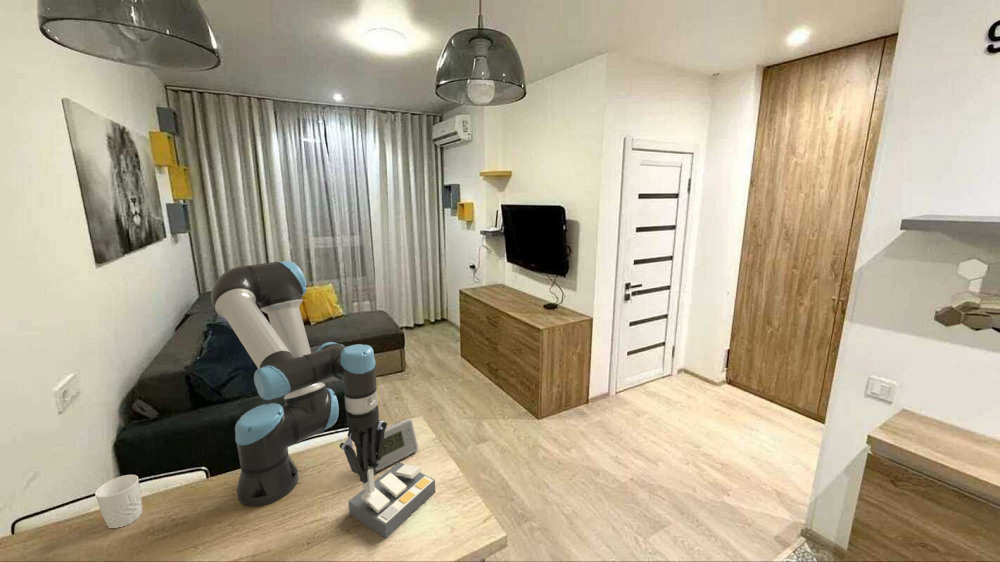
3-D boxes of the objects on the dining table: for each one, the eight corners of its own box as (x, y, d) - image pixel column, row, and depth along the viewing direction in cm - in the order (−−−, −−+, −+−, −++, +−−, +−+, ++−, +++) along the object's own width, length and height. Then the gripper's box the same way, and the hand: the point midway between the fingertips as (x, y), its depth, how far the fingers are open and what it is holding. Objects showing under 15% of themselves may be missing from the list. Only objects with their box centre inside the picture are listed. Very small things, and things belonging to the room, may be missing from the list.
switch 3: (396, 477, 110) (395, 471, 110) (406, 469, 113) (405, 464, 113) (412, 480, 106) (411, 475, 106) (422, 472, 110) (420, 467, 109)
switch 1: (360, 499, 100) (361, 494, 99) (372, 490, 103) (373, 485, 102) (377, 514, 97) (378, 510, 96) (389, 504, 100) (389, 500, 100)
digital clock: (371, 476, 116) (369, 444, 114) (364, 459, 124) (361, 429, 121) (422, 456, 125) (421, 427, 122) (412, 442, 132) (411, 414, 130)
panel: (349, 514, 102) (348, 499, 101) (400, 473, 117) (399, 460, 116) (386, 538, 95) (385, 522, 94) (435, 492, 110) (434, 478, 109)
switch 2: (379, 485, 105) (379, 480, 104) (389, 476, 108) (390, 472, 107) (395, 499, 102) (396, 494, 101) (406, 490, 105) (406, 485, 105)
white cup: (144, 502, 106) (137, 470, 104) (146, 518, 100) (138, 485, 98) (104, 518, 101) (95, 485, 98) (103, 537, 95) (94, 502, 93)
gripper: (349, 424, 88) (357, 512, 93) (392, 399, 99) (398, 480, 104) (329, 415, 92) (338, 500, 97) (373, 392, 103) (379, 469, 108)
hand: (369, 489), depth 100 cm, fingers closed
